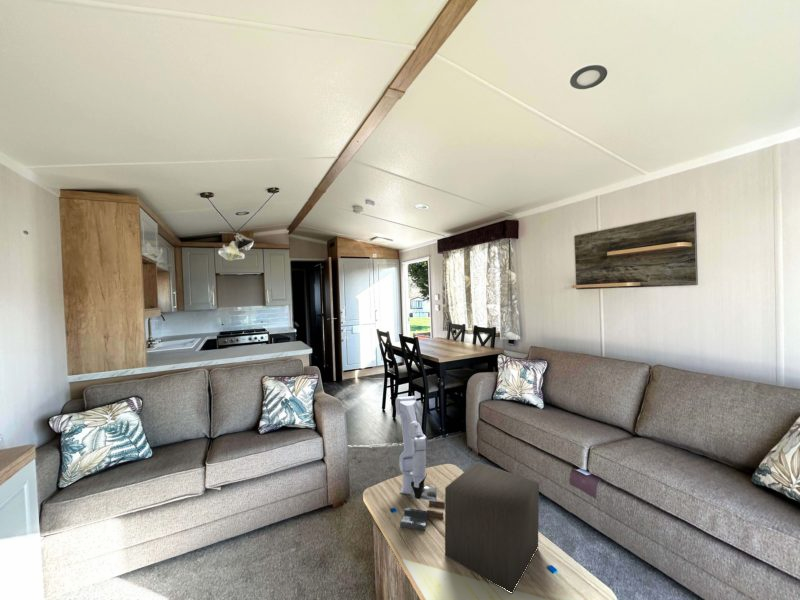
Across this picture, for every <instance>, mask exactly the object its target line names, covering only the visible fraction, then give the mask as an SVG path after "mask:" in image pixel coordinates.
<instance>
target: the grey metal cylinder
mask: <svg viewBox="0 0 800 600" xmlns="http://www.w3.org/2000/svg"><path fill="white" fill-rule="evenodd" d="M410 497H411V499H416V498H415V494H414V490H413V488H412V489H411V494H410ZM437 499H438V487H435V486H429V485H424V487H423V489H422V493H421V498H420V499H419V500H423V501H428V502H429V501H434V502H437V501H438V500H437Z"/></svg>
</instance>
